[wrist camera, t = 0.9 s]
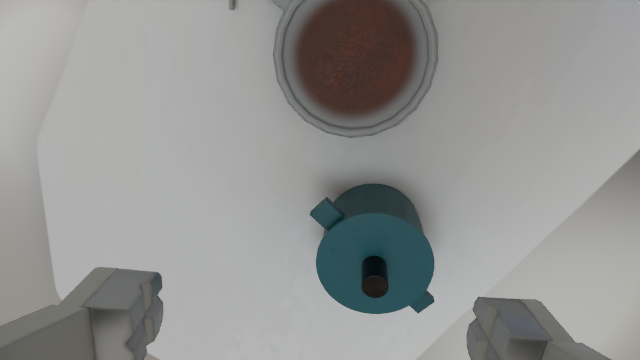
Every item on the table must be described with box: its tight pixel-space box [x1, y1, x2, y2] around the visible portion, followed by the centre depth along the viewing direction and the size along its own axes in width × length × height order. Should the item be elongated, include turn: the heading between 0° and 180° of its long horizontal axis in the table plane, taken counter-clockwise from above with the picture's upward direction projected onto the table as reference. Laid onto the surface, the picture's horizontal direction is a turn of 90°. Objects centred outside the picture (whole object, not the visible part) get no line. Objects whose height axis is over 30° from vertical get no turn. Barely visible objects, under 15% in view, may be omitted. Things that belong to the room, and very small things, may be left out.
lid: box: [316, 211, 434, 314], centre depth 40 cm, size 12×12×5 cm
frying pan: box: [229, 0, 438, 138], centre depth 41 cm, size 17×3×28 cm
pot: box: [310, 184, 434, 313], centre depth 46 cm, size 11×17×8 cm
